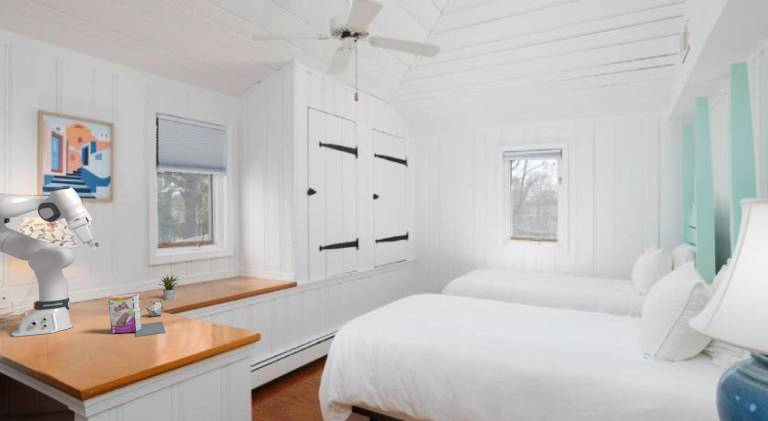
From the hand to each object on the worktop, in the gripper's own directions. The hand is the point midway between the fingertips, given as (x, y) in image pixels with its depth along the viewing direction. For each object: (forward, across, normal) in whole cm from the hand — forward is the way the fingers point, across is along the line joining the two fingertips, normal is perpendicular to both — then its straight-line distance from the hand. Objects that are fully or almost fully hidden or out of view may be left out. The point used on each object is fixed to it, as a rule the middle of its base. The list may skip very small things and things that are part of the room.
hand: (96, 248), depth 193 cm
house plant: (+57, -73, +10) cm, 93 cm away
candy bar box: (+39, +8, -6) cm, 40 cm away
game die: (+48, -22, +4) cm, 53 cm away
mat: (+43, +8, +3) cm, 44 cm away
